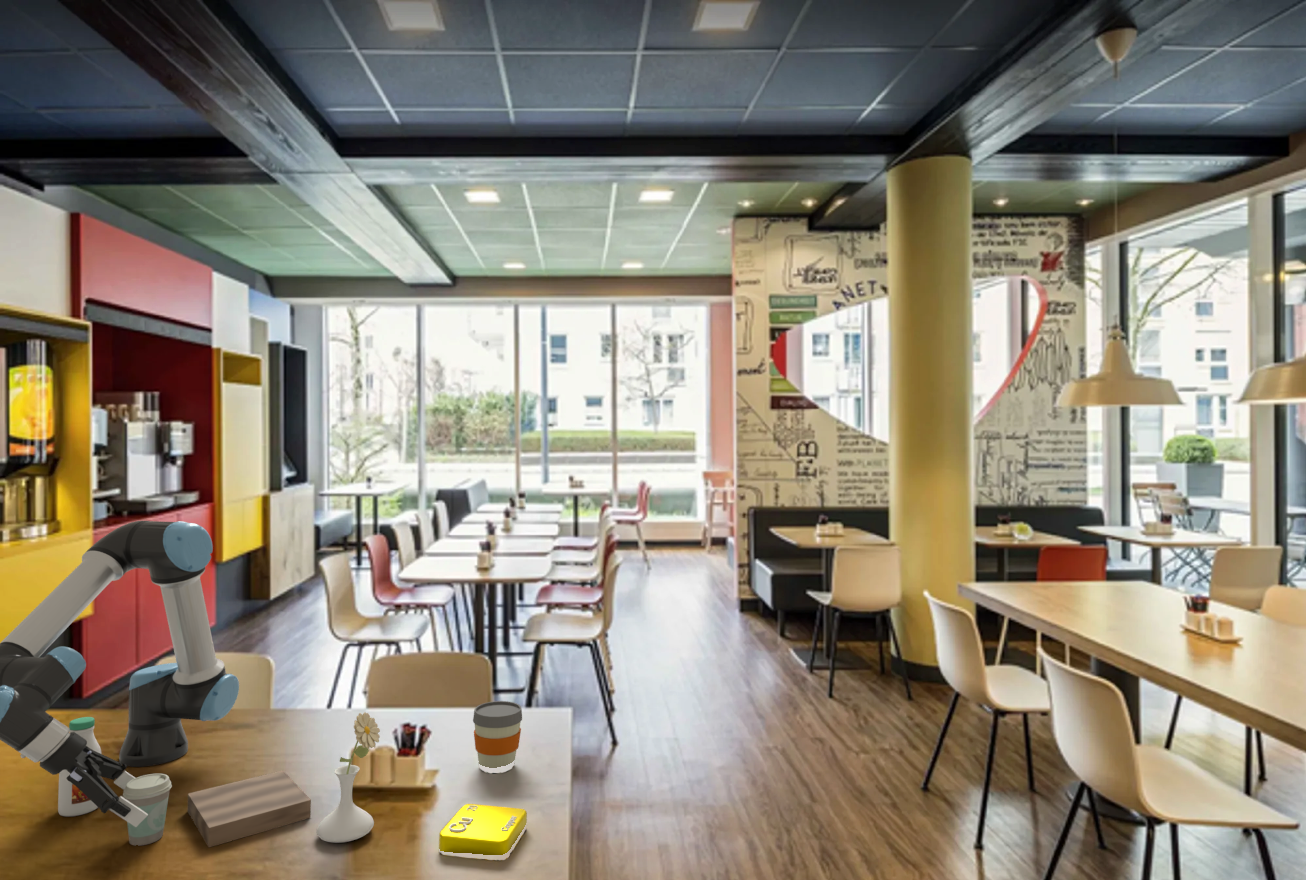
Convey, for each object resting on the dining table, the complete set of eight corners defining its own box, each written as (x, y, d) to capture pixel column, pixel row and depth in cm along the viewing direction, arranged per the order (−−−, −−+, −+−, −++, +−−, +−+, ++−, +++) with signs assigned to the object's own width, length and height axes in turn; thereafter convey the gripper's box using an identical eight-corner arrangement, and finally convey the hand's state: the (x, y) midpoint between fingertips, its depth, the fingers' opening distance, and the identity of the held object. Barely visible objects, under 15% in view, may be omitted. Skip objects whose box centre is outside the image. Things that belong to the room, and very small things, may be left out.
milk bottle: (54, 820, 168) (56, 727, 168) (62, 805, 175) (64, 716, 175) (97, 813, 172) (100, 722, 172) (103, 798, 178) (105, 711, 179)
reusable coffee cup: (461, 771, 198) (463, 712, 198) (489, 753, 209) (491, 698, 209) (503, 780, 193) (505, 720, 193) (530, 761, 205) (531, 704, 205)
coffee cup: (146, 851, 156) (148, 791, 156) (110, 846, 158) (112, 787, 158) (180, 831, 165) (181, 774, 165) (146, 826, 166) (147, 770, 166)
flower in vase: (338, 854, 157) (342, 730, 157) (304, 838, 163) (307, 719, 163) (391, 828, 168) (394, 712, 168) (357, 813, 174) (360, 702, 174)
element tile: (505, 864, 155) (506, 840, 155) (435, 856, 158) (435, 832, 158) (529, 828, 170) (529, 806, 170) (464, 821, 172) (464, 799, 172)
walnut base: (187, 811, 173) (187, 793, 173) (282, 786, 187) (282, 770, 187) (208, 847, 158) (209, 827, 158) (310, 817, 172) (310, 799, 172)
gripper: (46, 741, 162) (130, 798, 170) (26, 787, 141) (123, 850, 148) (78, 712, 165) (160, 769, 173) (63, 753, 144) (157, 816, 151)
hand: (143, 806), depth 161 cm, fingers open, 13 cm apart
